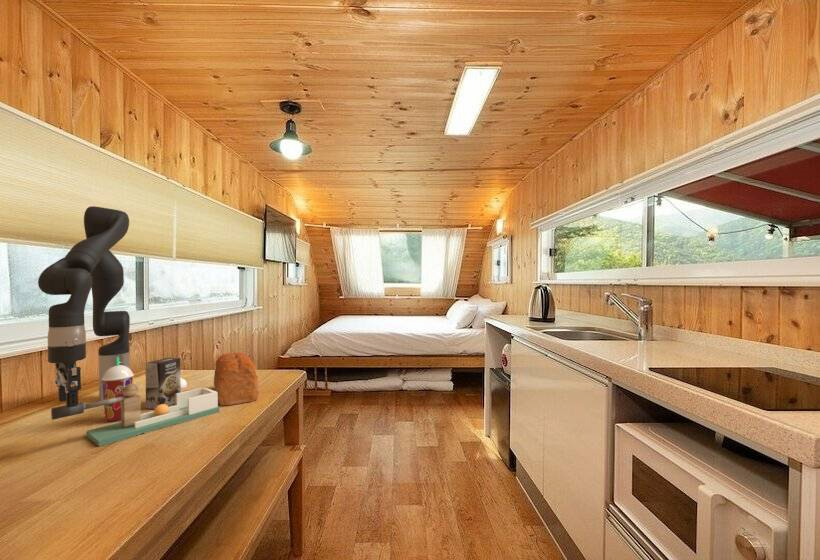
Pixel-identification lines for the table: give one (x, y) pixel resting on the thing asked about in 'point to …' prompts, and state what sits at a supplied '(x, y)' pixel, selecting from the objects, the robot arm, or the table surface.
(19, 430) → the table surface
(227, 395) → the bread
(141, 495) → the table surface
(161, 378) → the coffee box
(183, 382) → the garlic bulb
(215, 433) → the table surface
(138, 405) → the rod
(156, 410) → the ball
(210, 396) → the pitch
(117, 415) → the smoothie
